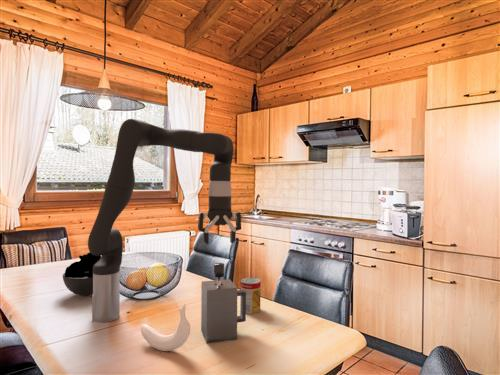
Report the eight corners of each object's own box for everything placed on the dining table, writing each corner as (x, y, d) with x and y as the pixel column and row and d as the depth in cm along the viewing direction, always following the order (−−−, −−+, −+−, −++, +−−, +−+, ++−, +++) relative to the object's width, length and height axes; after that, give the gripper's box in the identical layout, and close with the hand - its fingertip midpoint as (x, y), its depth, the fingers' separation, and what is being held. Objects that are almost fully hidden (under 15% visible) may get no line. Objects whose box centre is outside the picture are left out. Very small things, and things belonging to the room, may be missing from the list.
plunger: (214, 320, 115) (215, 265, 115) (212, 316, 118) (213, 263, 118) (224, 318, 116) (225, 264, 116) (222, 314, 119) (222, 262, 119)
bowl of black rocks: (87, 305, 143) (86, 259, 143) (51, 298, 151) (51, 255, 150) (121, 291, 162) (121, 250, 162) (89, 285, 169) (88, 247, 169)
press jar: (206, 343, 111) (207, 290, 111) (201, 330, 121) (201, 281, 120) (249, 337, 115) (249, 286, 115) (240, 325, 125) (240, 278, 125)
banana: (144, 339, 114) (144, 294, 113) (194, 351, 106) (194, 303, 106) (133, 346, 109) (133, 299, 109) (185, 359, 102) (185, 309, 101)
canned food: (262, 308, 142) (263, 278, 142) (256, 315, 135) (257, 284, 134) (244, 305, 145) (244, 276, 144) (237, 312, 137) (237, 282, 137)
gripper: (200, 195, 110) (200, 246, 111) (243, 195, 115) (243, 244, 115) (196, 194, 118) (196, 242, 118) (237, 194, 122) (237, 240, 122)
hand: (219, 243), depth 117 cm, fingers open, 8 cm apart
